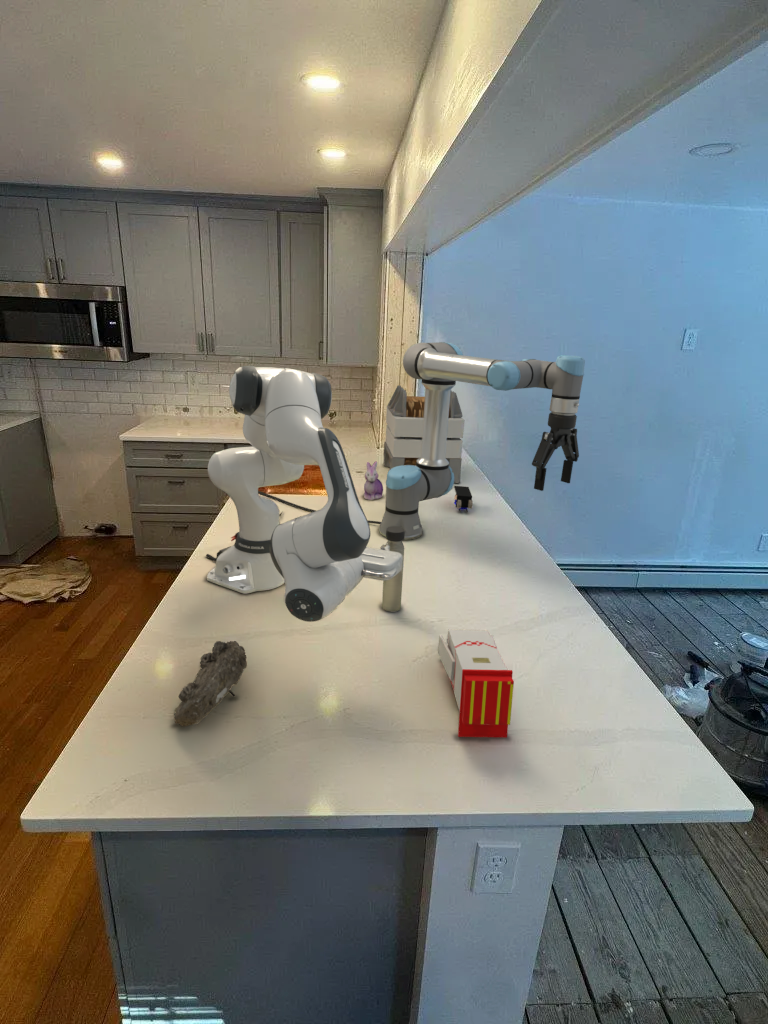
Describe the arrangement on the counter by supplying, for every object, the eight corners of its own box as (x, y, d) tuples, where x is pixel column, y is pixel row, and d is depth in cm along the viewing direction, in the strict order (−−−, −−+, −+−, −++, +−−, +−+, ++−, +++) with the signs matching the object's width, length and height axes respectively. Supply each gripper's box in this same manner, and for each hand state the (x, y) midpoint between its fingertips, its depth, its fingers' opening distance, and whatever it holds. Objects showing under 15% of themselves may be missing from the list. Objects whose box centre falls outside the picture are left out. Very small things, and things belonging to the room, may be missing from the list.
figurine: (368, 501, 231) (369, 466, 226) (357, 494, 239) (358, 459, 234) (388, 499, 235) (390, 464, 230) (377, 492, 244) (378, 458, 239)
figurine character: (472, 517, 222) (467, 501, 236) (475, 500, 219) (469, 484, 233) (455, 517, 222) (451, 500, 236) (457, 499, 219) (452, 484, 232)
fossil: (197, 643, 123) (246, 611, 118) (228, 672, 126) (277, 642, 121) (151, 720, 104) (207, 686, 99) (188, 752, 107) (245, 721, 102)
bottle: (404, 608, 151) (409, 531, 143) (390, 613, 148) (394, 536, 140) (392, 600, 154) (396, 525, 147) (378, 605, 151) (381, 529, 144)
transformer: (382, 463, 289) (386, 382, 275) (445, 464, 293) (451, 384, 279) (390, 482, 257) (394, 392, 243) (460, 483, 261) (468, 394, 247)
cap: (408, 539, 144) (408, 530, 143) (393, 543, 141) (394, 534, 140) (396, 533, 147) (396, 524, 146) (382, 537, 144) (382, 528, 144)
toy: (488, 613, 130) (523, 677, 101) (484, 667, 133) (517, 744, 104) (435, 612, 130) (455, 676, 101) (432, 666, 133) (451, 743, 103)
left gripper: (391, 564, 106) (412, 538, 118) (293, 546, 112) (323, 524, 124) (390, 594, 108) (411, 566, 120) (294, 575, 114) (323, 550, 127)
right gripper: (548, 419, 148) (537, 496, 155) (598, 411, 163) (586, 482, 171) (525, 414, 153) (515, 489, 160) (575, 407, 169) (564, 476, 176)
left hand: (365, 544), depth 123 cm, fingers open, 8 cm apart
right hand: (552, 485), depth 166 cm, fingers open, 13 cm apart
